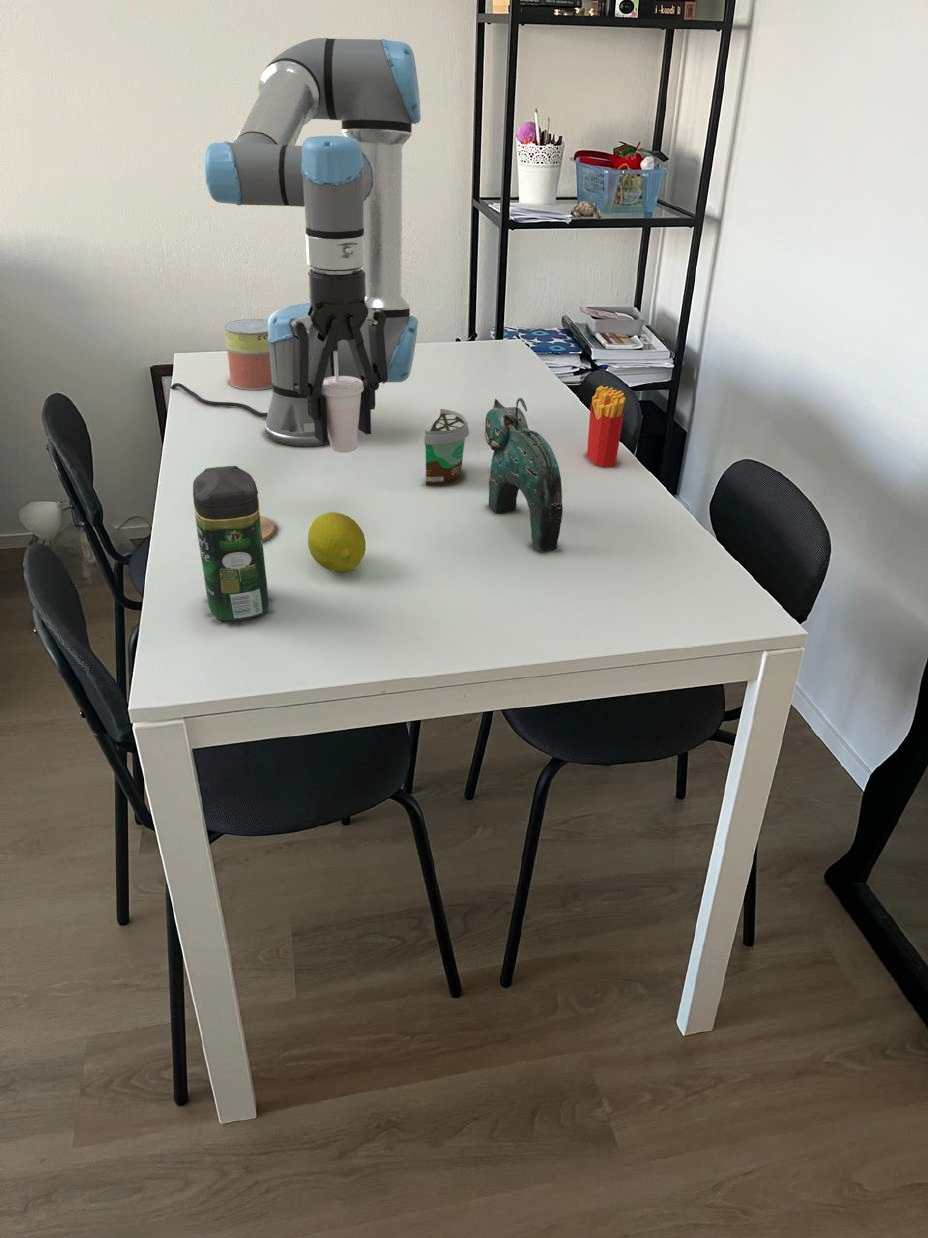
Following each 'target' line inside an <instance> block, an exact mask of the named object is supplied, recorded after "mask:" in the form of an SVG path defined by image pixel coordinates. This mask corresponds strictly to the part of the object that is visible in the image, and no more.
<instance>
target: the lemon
mask: <svg viewBox="0 0 928 1238" xmlns="http://www.w3.org/2000/svg"><path fill="white" fill-rule="evenodd" d="M307 545H308V550H309V553H310V555H311V556H312V558H313V559H314V561H315V562H316V563H317V565H319V566H321V567H322V568H324V569H326V570H328V571H331V572H336V573H348V572H352V570H354V569H357V567H358V566H359V565H360V564H361V562H362V560H363V558H364V557H365V553H366V550H367V549H366V537H365V534H364V531H363V530H362V528H361V527H360V525H359V523H357V522H356V520H354V519H353V518H352V517H350V516H349V515H347V514H344V513H341V512H337V511H335V512H333V511H331V512H330V511H329V512H325V513H323V514H321V515H319V516H317V517H316V518H314V519H313V521H312V523H311V524H310V526H309V529H308V535H307Z"/></svg>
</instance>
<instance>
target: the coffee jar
mask: <svg viewBox="0 0 928 1238" xmlns="http://www.w3.org/2000/svg"><path fill="white" fill-rule="evenodd" d="M258 494H259V491H258V487H257V483H256V481H255V480H254V477H253V476H252V475H251V474H250V473H249V472H247V471H246V470H244V469H242V468H240V467H239V466H237V465H226V466H225V465H223V466H215V467H206V468H205V469H204V470H203V471H202V472H200V473H199V474H198V475H197V476H196V477H195V478H194V479H193V482H192V498H193V507H194V517H195V524H196V532H197V539H198V547H199V553H200V560H201V566H202V571H203V580H204V586H205V592H206V597H207V599H206V600H207V604H208V608H209V610H210V613H211V614H212V616H213V617H214V618H215V619H217V620H221V621H230V622H242V621H248V620H249V621H250V620H251V619H254V618H257V617H259V616H262V615H264V614H265V613H266V612H267V610H268V608H269V605H270V604H269V592H268V582H267V581H268V580H267V572H266V563H265V553H264V552H265V551H264V541H263V542H262V532H261V522H260V516H261V513H260V502H259V495H258Z"/></svg>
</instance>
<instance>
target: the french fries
mask: <svg viewBox="0 0 928 1238" xmlns="http://www.w3.org/2000/svg"><path fill="white" fill-rule="evenodd" d="M625 403H626V397H625V393H624V392H622V390H621V389H620V390H617V389H614V387H610V388H609V386H603V385H600V386H598V387H597V388H596V390H595V393H594V395H593V396H592V397H591V403H590V405H589V406H590V408H589V422H588V434H587V448H586V457H587V458H588V459H589V460H590V462H592V464H593V465H595V466H598V467H601V468H612V467H614V466H615V465H616V464H617V460H618V452H619V446H620V439H621V434H622V427H623V421H624V415H625V414H624V412H623V410H624V407H625Z"/></svg>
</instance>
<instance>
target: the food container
mask: <svg viewBox="0 0 928 1238" xmlns="http://www.w3.org/2000/svg"><path fill="white" fill-rule="evenodd" d="M469 434H470V430H469V424H468V421H467V419H466V417H465V416H464V414H461V413H459V412H457V411H454V410H451V409H445V408H440V409H439V416H438V418H437V419H436V420H435V421H434V422H433V424H432V426H431V427H430V429H429V430H425V431H424V446H425V447H424V448H425V485H426V486H430V487H431V486H433V487H434V486H436V487H438V486H446V485H451V484H454V483H456V482H457V481H459V480H460V479H461V477H462V470H463V469H462V468H463V460H464V459H463V458H464V450H465V440H466V438H467V437H468V436H469Z"/></svg>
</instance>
